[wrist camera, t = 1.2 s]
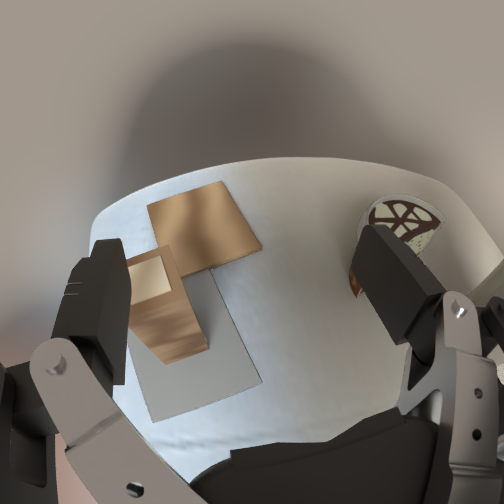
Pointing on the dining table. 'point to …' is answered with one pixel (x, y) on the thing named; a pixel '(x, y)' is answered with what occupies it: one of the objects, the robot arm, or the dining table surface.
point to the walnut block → (162, 307)
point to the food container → (401, 223)
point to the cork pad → (202, 228)
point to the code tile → (196, 359)
